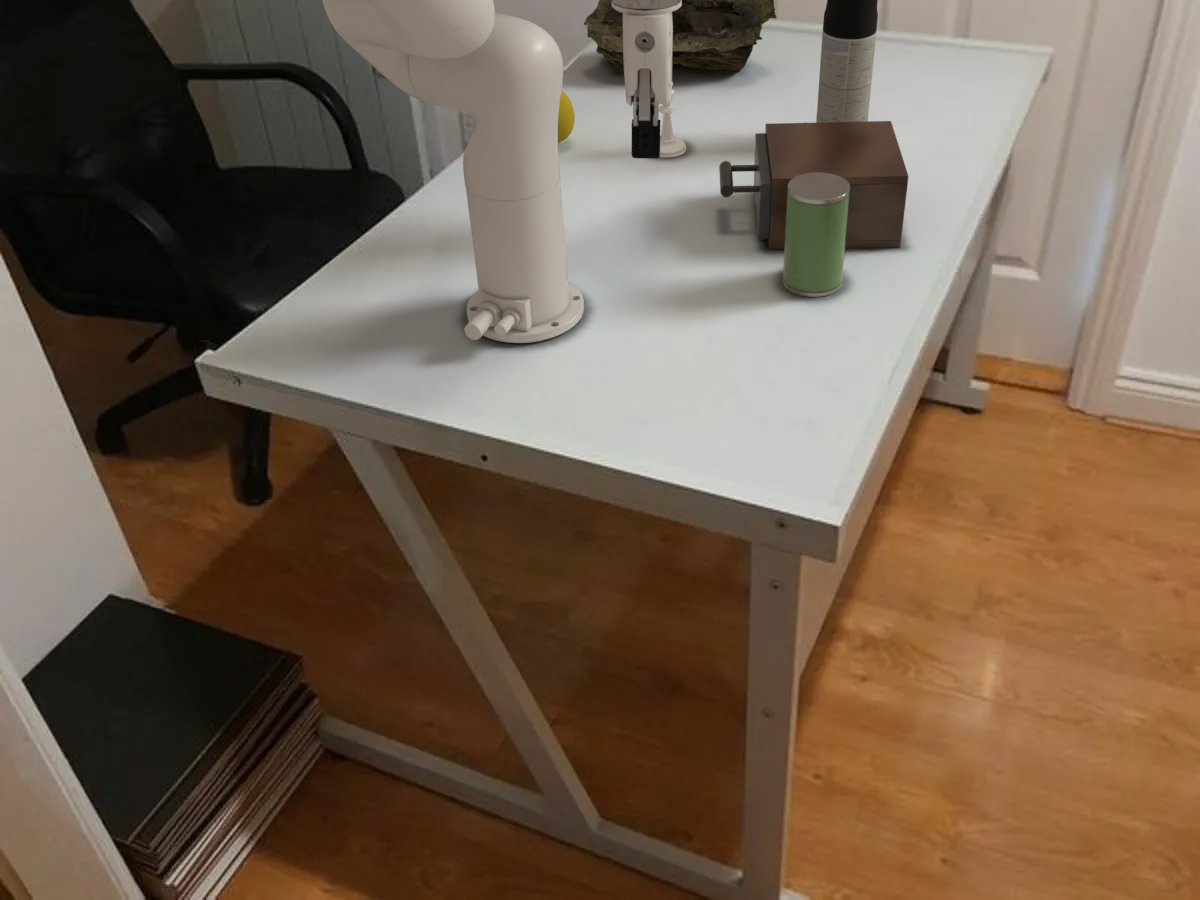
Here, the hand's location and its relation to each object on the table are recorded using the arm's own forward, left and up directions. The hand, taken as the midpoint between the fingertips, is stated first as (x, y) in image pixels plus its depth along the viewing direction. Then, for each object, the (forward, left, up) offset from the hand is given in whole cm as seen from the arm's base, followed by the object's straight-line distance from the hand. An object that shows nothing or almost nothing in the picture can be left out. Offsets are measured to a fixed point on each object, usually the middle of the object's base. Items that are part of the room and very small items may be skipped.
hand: (645, 155), depth 140 cm
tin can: (-7, -22, -9) cm, 25 cm away
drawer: (+7, -16, -8) cm, 19 cm away
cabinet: (+8, -20, -9) cm, 23 cm away
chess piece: (+20, +5, -9) cm, 23 cm away
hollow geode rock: (+47, +13, -9) cm, 50 cm away
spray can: (+29, -16, -9) cm, 35 cm away
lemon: (+17, +20, -9) cm, 28 cm away
